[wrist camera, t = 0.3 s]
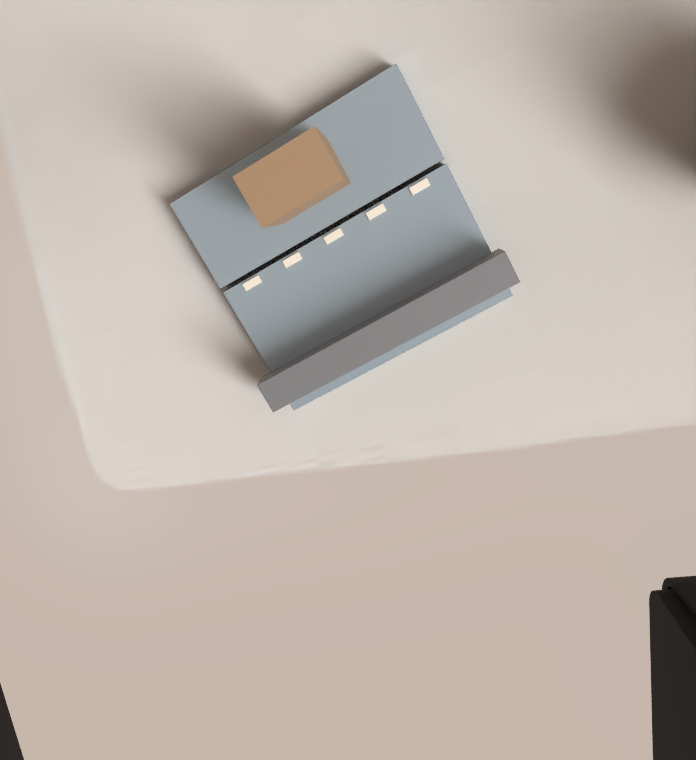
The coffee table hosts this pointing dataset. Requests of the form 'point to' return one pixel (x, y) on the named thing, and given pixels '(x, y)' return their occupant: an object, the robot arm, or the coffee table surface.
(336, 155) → the grey slab
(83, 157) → the coffee table surface
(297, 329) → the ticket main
